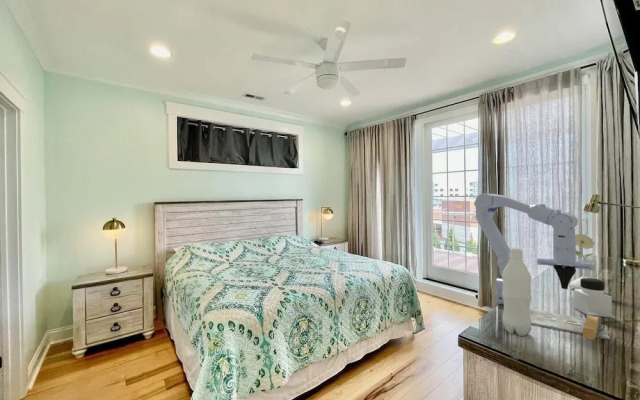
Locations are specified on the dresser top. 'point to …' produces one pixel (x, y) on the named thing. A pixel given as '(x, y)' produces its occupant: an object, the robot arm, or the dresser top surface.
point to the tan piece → (591, 325)
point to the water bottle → (516, 294)
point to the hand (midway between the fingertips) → (564, 288)
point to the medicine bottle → (592, 298)
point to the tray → (562, 322)
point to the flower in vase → (584, 243)
